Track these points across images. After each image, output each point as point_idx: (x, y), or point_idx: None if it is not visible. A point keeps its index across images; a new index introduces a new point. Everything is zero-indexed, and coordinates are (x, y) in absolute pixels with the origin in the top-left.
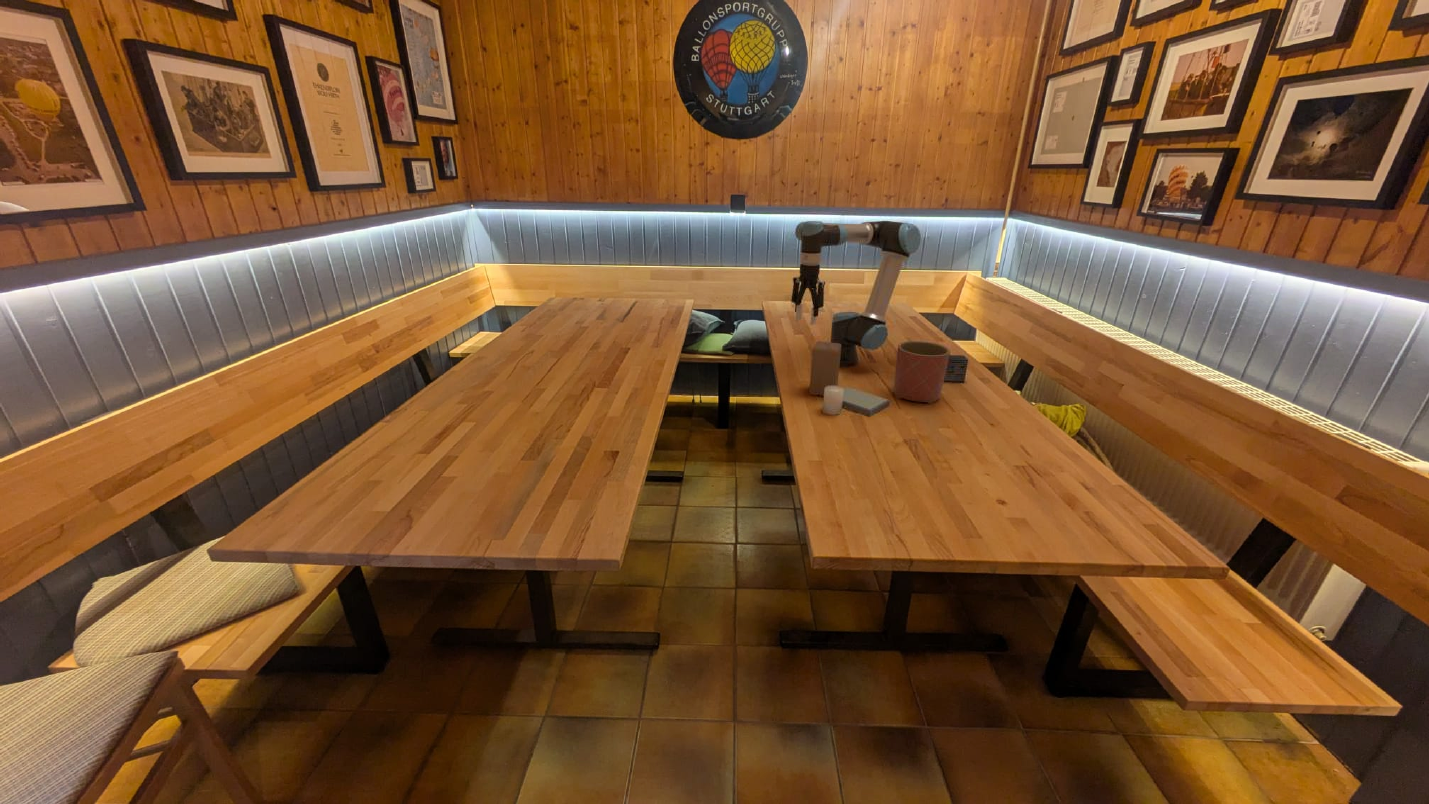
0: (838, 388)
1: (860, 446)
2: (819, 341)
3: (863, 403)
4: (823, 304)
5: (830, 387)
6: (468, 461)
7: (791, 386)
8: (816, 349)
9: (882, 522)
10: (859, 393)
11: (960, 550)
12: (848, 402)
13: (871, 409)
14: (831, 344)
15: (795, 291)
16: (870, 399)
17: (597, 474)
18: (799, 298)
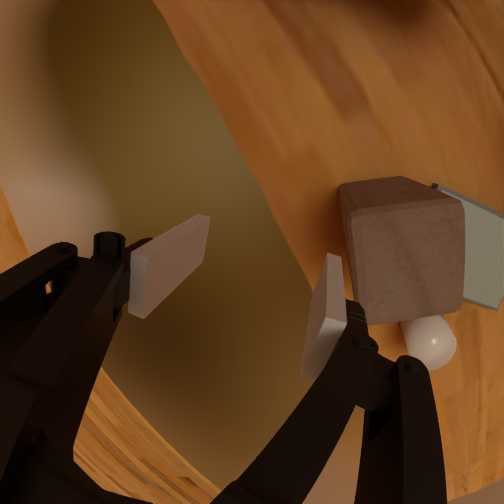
0: (443, 342)
1: (463, 408)
2: (365, 226)
3: (486, 284)
4: (428, 382)
5: (424, 346)
6: (121, 481)
7: (280, 213)
8: (375, 324)
9: (457, 485)
10: (475, 223)
11: (500, 476)
12: None
13: (498, 303)
14: (430, 247)
15: (13, 358)
16: (499, 251)
17: (205, 498)
18: (104, 349)
